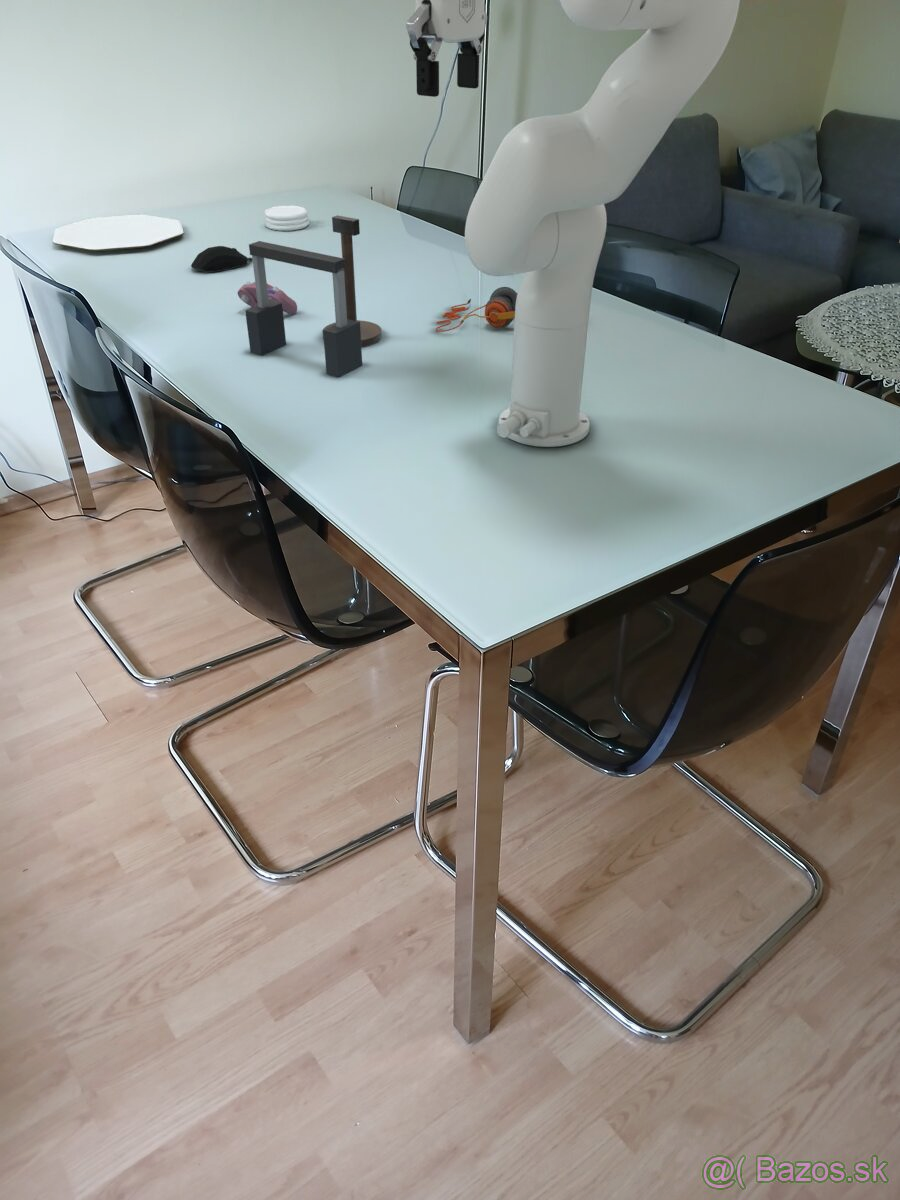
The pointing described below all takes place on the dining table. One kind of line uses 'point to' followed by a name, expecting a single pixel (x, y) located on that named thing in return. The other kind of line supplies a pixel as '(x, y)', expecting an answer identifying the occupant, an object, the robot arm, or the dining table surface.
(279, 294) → the video game controller
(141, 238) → the plate
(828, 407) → the dining table surface
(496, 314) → the headphones
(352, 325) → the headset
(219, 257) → the gaming mouse
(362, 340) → the headphone stand
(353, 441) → the dining table surface
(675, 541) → the dining table surface
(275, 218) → the stack of white coasters
